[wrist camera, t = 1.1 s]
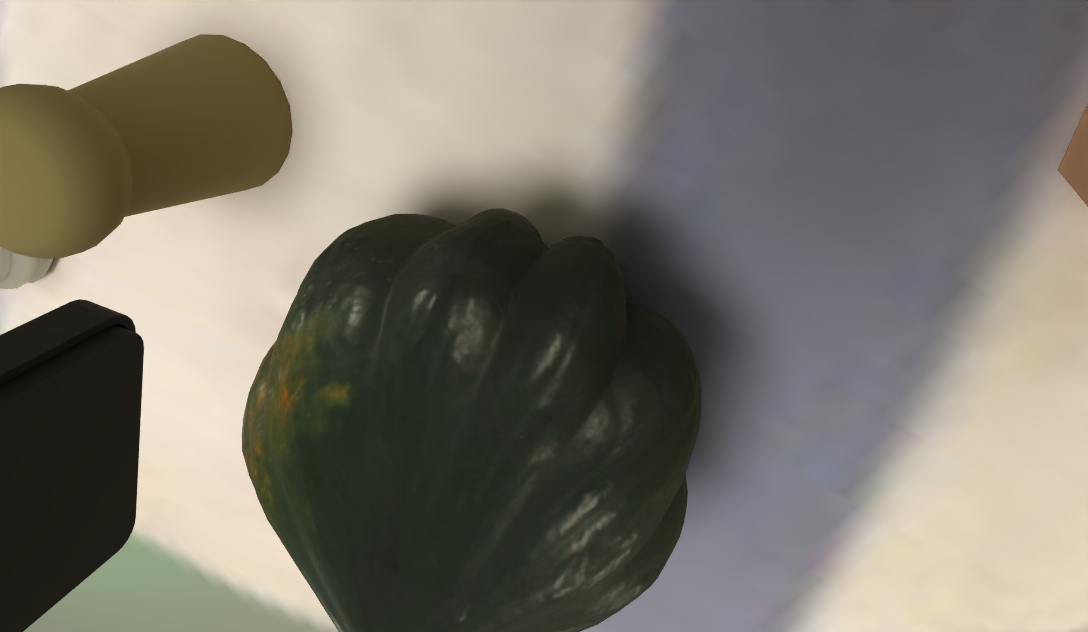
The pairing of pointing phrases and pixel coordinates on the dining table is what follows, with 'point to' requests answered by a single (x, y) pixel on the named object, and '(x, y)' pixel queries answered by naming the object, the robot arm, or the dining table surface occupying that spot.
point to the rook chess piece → (20, 269)
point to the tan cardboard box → (1077, 160)
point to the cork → (136, 143)
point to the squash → (472, 430)
